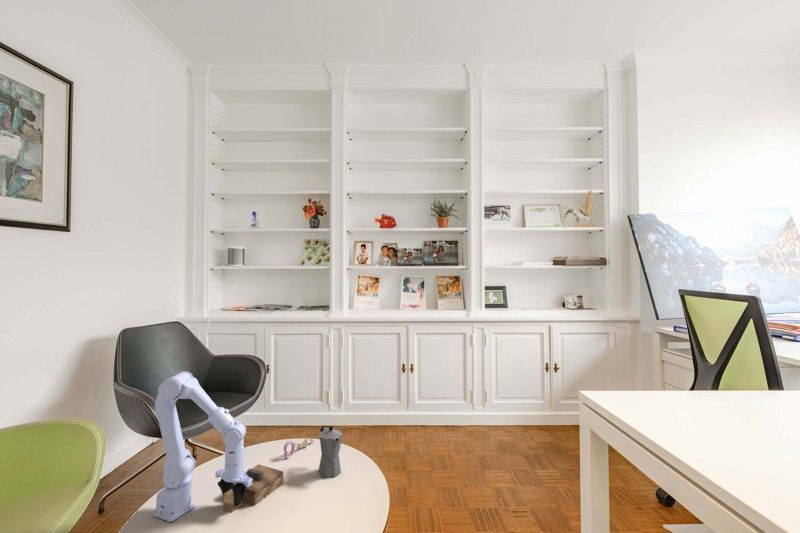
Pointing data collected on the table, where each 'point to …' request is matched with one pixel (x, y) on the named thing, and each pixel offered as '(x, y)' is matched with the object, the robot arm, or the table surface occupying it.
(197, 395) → the robot arm
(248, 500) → the brown shallow open box
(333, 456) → the coffeepot
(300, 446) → the decorative key
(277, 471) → the lid
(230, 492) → the wooden block
